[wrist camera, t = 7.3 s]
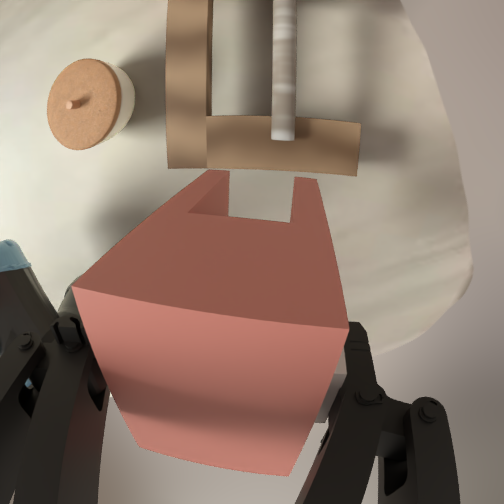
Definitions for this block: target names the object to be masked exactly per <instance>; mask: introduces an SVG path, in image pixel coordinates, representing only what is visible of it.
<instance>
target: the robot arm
mask: <svg viewBox="0 0 504 504" xmlns="http://www.w3.org/2000/svg"><path fill="white" fill-rule="evenodd" d="M30 266H31V264H30V263H29V262H28V261H27V259H26V258H25V256H24V254H23V252H22V250H21V249H20V247H19V245H18V244H17V243H16V242H15V241H13V240H10V239H8V240H4V241H1V242H0V504H9V503H10V500H11V498H12V495H13V493H14V491H15V495H14V502H13V504H97V503H98V487H99V473H100V462H101V453H102V444H103V436H104V428H105V421H106V414H107V407H108V402H109V396H110V390H109V387H108V385H107V383H106V381H105V379H104V376H103V374H102V372H101V369H100V367H99V364H98V362H97V360H96V357H95V355H94V352H93V350H92V347H91V344H90V342H89V339H88V336H87V333H86V331H85V328H84V325H83V322H82V319H81V316H80V313H79V310H78V307H77V304H76V301H75V297H74V294H73V291H72V287H71V286H72V285H73V284H74V283H75V282H76V281H77V280H78V279H79V278H80V277H81V276H82V275H81V276H79V277H78V278H76V279H75V280H74V281H73V282H72V283H71V284H70V285H69V287H68V288H67V290H66V293H65V296H64V299H63V301H62V303H61V305H60V307H59V310H58V312H56V310H55V309H54V307H53V306H52V304H51V302H50V301H49V299H48V297H47V296H46V294H45V292H44V290H43V289H42V287H41V285H40V283H39V282H38V280H37V278H36V276H35V274H34V272H33V270H32V269H31V267H30ZM348 323H349V332H348V335H347V338H346V341H345V344H344V347H343V350H342V353H341V356H340V358H339V361H338V364H337V367H336V369H335V372H334V375H333V377H332V380H331V383H330V385H329V388H328V390H327V393H326V395H325V398H324V400H323V403H322V405H321V408H320V410H319V412H318V415H317V417H316V419H315V422H314V423H325V422H326V420H327V418H329V419H328V422H329V427H328V429H327V431H326V433H325V435H324V437H323V439H322V440H321V446H320V448H319V451H318V453H317V455H316V458H315V460H314V463H313V465H312V467H311V470H310V472H309V474H308V476H307V479H306V481H305V483H304V485H303V487H302V490H301V492H300V494H299V496H298V498H297V500H296V502H295V504H361V503H362V500H363V497H364V494H365V491H366V487H367V484H368V481H369V477H370V474H371V471H372V467H373V463H374V459H375V456H378V474H379V475H378V504H460V494H459V484H458V476H457V470H456V463H455V456H454V450H453V445H452V438H451V433H450V429H449V423H448V419H447V414H446V411H445V409H444V407H443V405H441V403H440V402H439V401H437V400H435V399H433V398H430V397H421V398H418V399H417V400H415V401H414V402H413V403H412V404H408V403H404V402H401V401H397V400H394V399H392V398H390V397H388V396H387V395H386V393H385V391H384V389H383V388H382V387H380V386H379V385H378V384H377V381H376V375H375V371H374V365H373V360H372V355H371V352H370V346H369V344H368V342H369V341H368V337H367V332H366V330H365V329H364V328H363V327H362V325H361V324H360V323H359V322H349V321H348Z"/></svg>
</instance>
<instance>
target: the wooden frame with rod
mask: <svg viewBox="0 0 504 504" xmlns="http://www.w3.org/2000/svg"><path fill="white" fill-rule="evenodd" d="M212 28H213V0H168V11H167V30H166V68H165V98H166V138H167V160H168V169H178V168H223V169H260V170H282V171H299V172H313V173H326V174H337V175H348V176H357V169H358V158H359V146H360V133H361V124H360V123H354V122H346V121H337V120H327V119H315V118H302V117H295V106H296V46H297V18H296V0H273V67H272V116H248V115H231V116H212Z"/></svg>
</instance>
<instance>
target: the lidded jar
mask: <svg viewBox="0 0 504 504" xmlns="http://www.w3.org/2000/svg"><path fill="white" fill-rule="evenodd" d="M134 105H135V90H134V86H133V84H132V81H131V80H130V78H129V77H128V75H127V74H126V73H125V72H124V71H123V70H121V69H120V68H118V67H117V66H115V65H112V64H110V63H107V62H102V61H100V60H96V59H82V60H78V61H76V62H73V63H72V64H70V65H69V66H67V67H66V68H65V69H64V70H63V71H62V72H61V73H60V74H59V75H58V77H57V79H56V80H55V82H54V84H53V86H52V88H51V91H50V94H49V97H48V103H47V117H48V122H49V126H50V129H51V131H52V133H53V135H54V137H55V138H56V139H57V140H58V141H59V142H60V143H61V144H62V145H64V146H65V147H67V148H69V149H73V150H84V149H88V148H91V147H93V146H95V145H97V144H100V143H103V142H105V141H107V140H109V139H110V138H112V137H114V136H115V135H116V134H118V133H119V132H120V131H121V130H122V129H123V128H124V127H125V125H126V124H127V122H128V121H129V119H130V117H131V115H132V113H133V110H134Z"/></svg>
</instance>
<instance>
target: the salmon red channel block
mask: <svg viewBox="0 0 504 504" xmlns="http://www.w3.org/2000/svg"><path fill="white" fill-rule="evenodd" d="M229 173H230V171H224V170H207V171H206V172H205V173H203V174H202V175H201V176H199V177H198V178H197V179H195V180H194V181H193V182H191V183H190V184H189V185H188V186H186V187H185V188H184V189H182V190H181V191H180V192H178V193H177V194H176V195H175V196H173V197H172V198H171V199H170V200H168V201H167V202H166V203H165V204H163V205H162V206H161V207H160V208H158V209H157V210H156V211H155V212H153V213H152V214H151V215H150V216H149V217H147V218H146V219H145V220H144V221H143V222H141V223H140V224H139V225H138V226H137V227H135V228H134V229H133V230H132V231H131V232H130V233H128V234H127V235H126V236H125V237H124V238H123V239H121V240H120V241H119V242H118V243H117V244H116V245H115V246H114V247H112V248H111V249H110V250H109V251H108V252H107V253H106V254H105V255H103V256H102V257H101V258H100V259H99V260H98V261H97V262H96V263H95V264H94V265H93V266H92V267H90V268H89V269H88V270H87V271H86V272H85V273H84V274H83V275H82V276H81V277H80V278H79V279H78V280H77V281H76V282H75V283H74V284H73V285H72V286H71V287H72V291H73V294H74V297H75V301H76V304H77V307H78V310H79V313H80V316H81V319H82V322H83V325H84V328H85V331H86V333H87V336H88V339H89V342H90V344H91V347H92V350H93V352H94V355H95V357H96V360H97V362H98V364H99V367H100V369H101V372H102V374H103V376H104V379H105V381H106V383H107V385H108V387H109V390H110V392H111V394H112V396H113V398H114V400H115V402H116V404H117V406H118V408H119V410H120V412H121V414H122V416H123V418H124V420H125V422H126V424H127V426H128V428H129V429H130V431H131V433H132V435H133V437H134V439H135V440H136V442H137V444H138V445H139V447H141V448H144V449H147V450H150V451H154V452H157V453H161V454H164V455H167V456H171V457H175V458H179V459H183V460H187V461H191V462H196V463H200V464H205V465H209V466H214V467H220V468H225V469H231V470H237V471H243V472H251V473H258V474H267V475H278V476H289V474H290V473H291V471H292V469H293V466H294V465H295V463H296V461H297V458H298V456H299V454H300V452H301V450H302V448H303V446H304V444H305V442H306V440H307V437H308V435H309V433H310V430H311V428H312V426H313V424H314V422H315V419H316V417H317V415H318V412H319V410H320V408H321V405H322V403H323V400H324V398H325V395H326V393H327V390H328V388H329V385H330V383H331V380H332V377H333V375H334V372H335V369H336V367H337V364H338V361H339V358H340V356H341V353H342V350H343V347H344V344H345V341H346V338H347V335H348V332H349V323H348V318H347V312H346V307H345V301H344V296H343V291H342V286H341V281H340V276H339V271H338V266H337V261H336V257H335V252H334V248H333V243H332V239H331V235H330V230H329V226H328V222H327V218H326V214H325V210H324V206H323V202H322V198H321V194H320V190H319V187H318V183H317V179H311V178H302V177H295V179H294V189H293V199H292V208H291V217H290V223H286V222H277V221H268V220H258V219H248V218H238V217H228V204H229Z"/></svg>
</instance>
